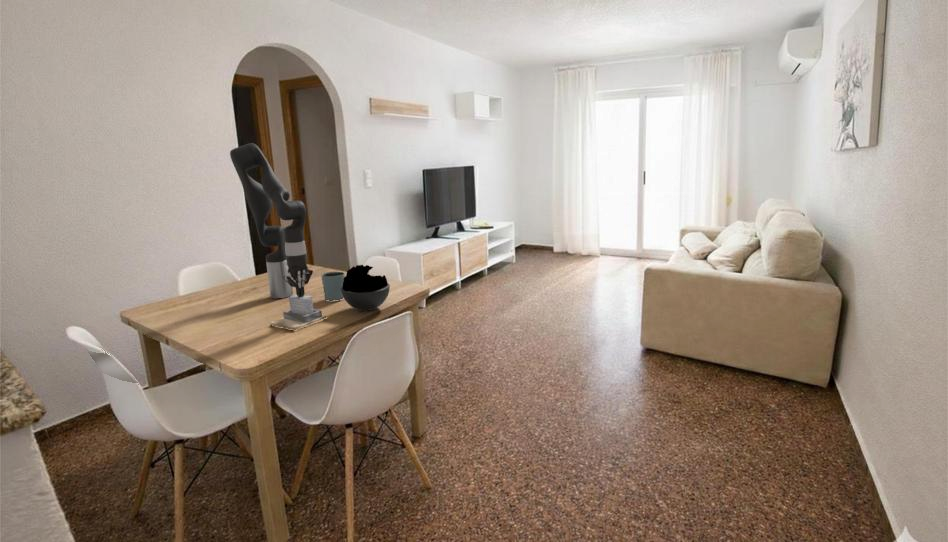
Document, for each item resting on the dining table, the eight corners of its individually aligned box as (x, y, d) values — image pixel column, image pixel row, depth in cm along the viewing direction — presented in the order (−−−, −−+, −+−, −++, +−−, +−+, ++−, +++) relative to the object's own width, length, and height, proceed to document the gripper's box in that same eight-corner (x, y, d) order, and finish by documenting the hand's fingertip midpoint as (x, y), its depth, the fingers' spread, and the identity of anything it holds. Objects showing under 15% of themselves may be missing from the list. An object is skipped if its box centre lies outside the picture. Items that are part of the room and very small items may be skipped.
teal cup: (319, 301, 223) (316, 275, 220) (333, 295, 232) (330, 270, 229) (337, 303, 219) (335, 277, 216) (351, 297, 228) (349, 272, 225)
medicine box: (314, 316, 197) (312, 295, 195) (306, 320, 193) (304, 298, 191) (298, 314, 200) (296, 294, 198) (291, 318, 196) (288, 297, 194)
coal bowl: (368, 299, 223) (365, 259, 219) (400, 306, 212) (398, 264, 208) (332, 311, 207) (328, 268, 203) (365, 320, 196) (362, 274, 192)
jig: (303, 314, 205) (302, 305, 204) (327, 319, 198) (326, 309, 197) (270, 325, 192) (269, 316, 191) (295, 331, 185) (294, 321, 184)
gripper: (303, 249, 198) (307, 290, 202) (275, 255, 187) (280, 299, 191) (316, 250, 194) (320, 293, 198) (288, 257, 183) (293, 301, 187)
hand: (300, 296), depth 194 cm, fingers closed
